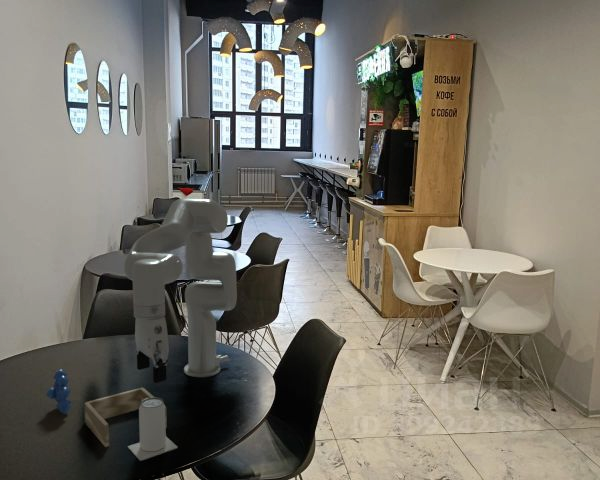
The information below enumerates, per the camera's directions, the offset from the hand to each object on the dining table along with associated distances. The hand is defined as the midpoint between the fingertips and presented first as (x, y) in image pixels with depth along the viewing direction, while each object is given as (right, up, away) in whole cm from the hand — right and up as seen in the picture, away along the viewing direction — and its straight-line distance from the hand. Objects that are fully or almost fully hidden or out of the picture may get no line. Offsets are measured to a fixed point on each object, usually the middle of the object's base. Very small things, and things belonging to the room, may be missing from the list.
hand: (151, 374), depth 138 cm
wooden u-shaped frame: (-11, -18, +14) cm, 25 cm away
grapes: (-33, -16, +21) cm, 42 cm away
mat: (0, -19, +3) cm, 20 cm away
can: (0, -19, +3) cm, 20 cm away
